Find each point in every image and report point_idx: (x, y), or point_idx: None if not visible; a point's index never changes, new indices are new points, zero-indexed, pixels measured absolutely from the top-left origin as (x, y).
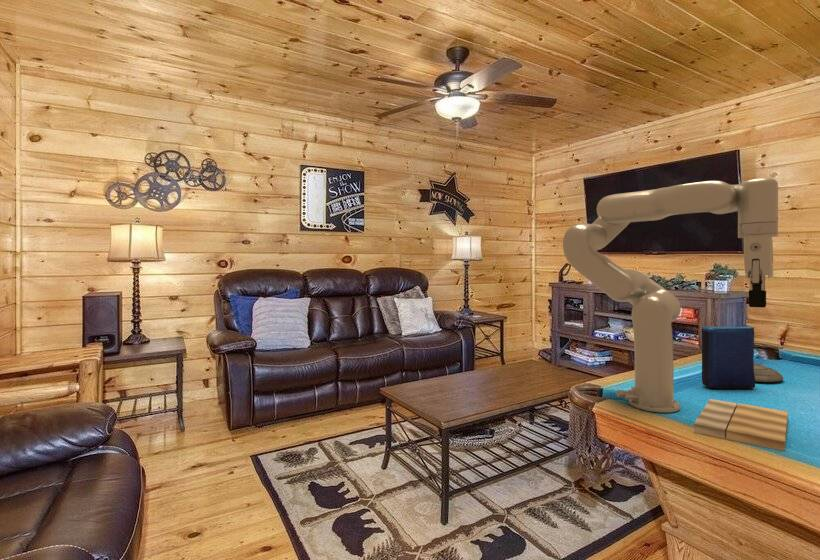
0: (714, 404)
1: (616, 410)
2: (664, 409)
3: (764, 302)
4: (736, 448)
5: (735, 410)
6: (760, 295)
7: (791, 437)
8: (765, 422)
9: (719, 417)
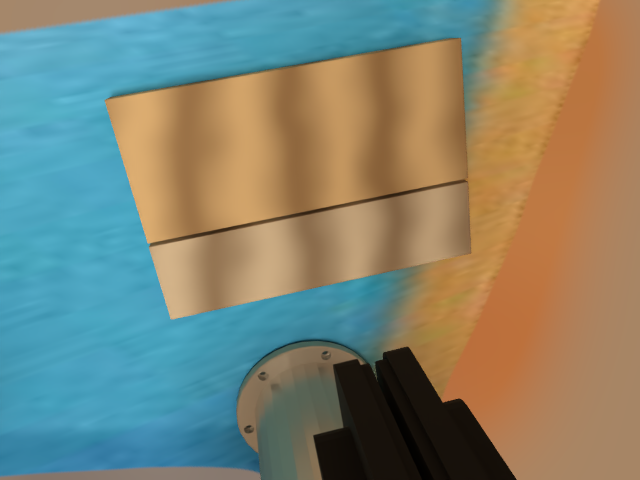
0: (228, 287)
1: None
2: (359, 359)
3: (424, 384)
4: (510, 133)
5: (246, 222)
6: (505, 472)
7: (312, 47)
8: (307, 122)
9: (360, 229)
